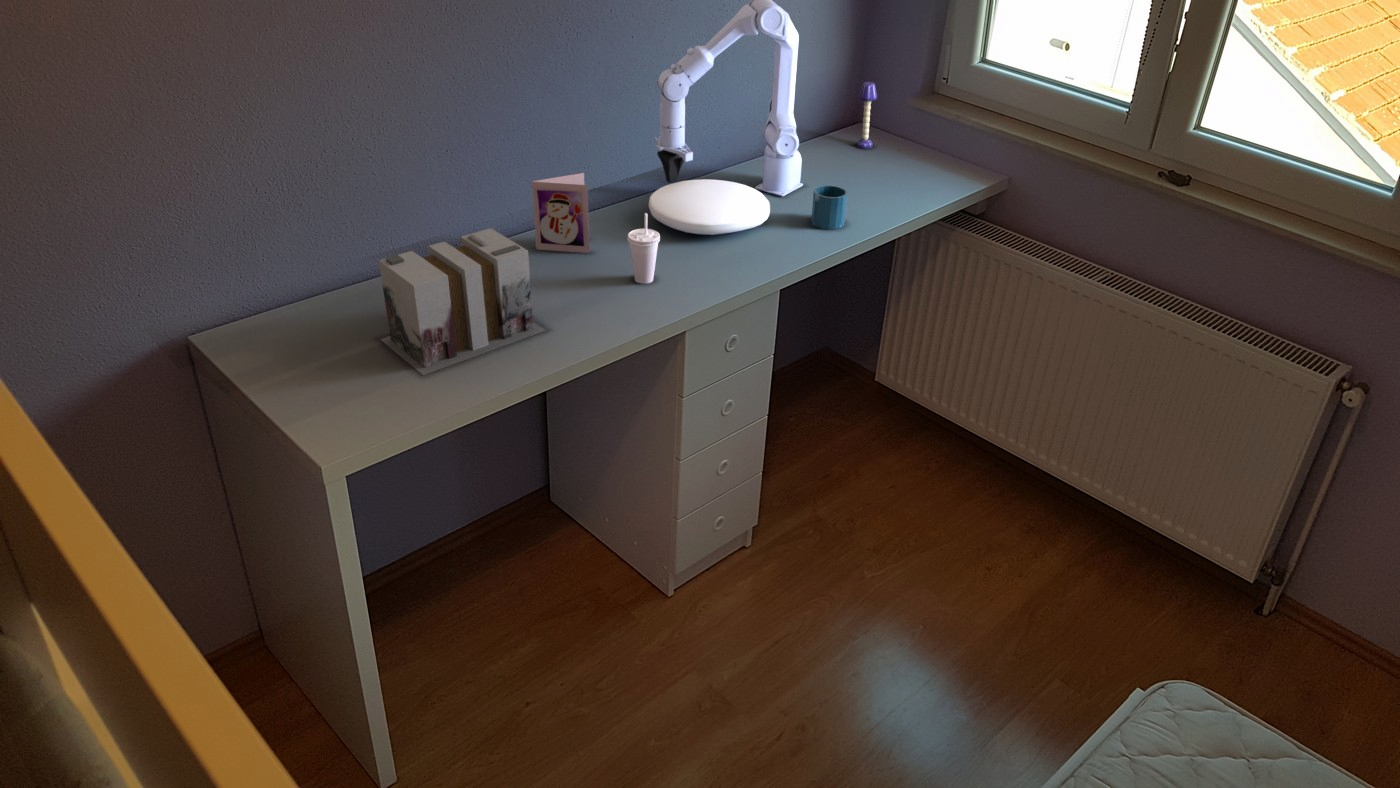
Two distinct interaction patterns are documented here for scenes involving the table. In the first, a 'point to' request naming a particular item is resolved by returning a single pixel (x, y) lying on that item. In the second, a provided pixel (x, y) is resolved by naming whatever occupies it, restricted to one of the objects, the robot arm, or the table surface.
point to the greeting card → (561, 214)
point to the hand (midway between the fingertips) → (671, 181)
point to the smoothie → (643, 252)
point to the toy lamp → (866, 112)
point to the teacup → (829, 207)
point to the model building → (457, 300)
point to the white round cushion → (709, 206)
